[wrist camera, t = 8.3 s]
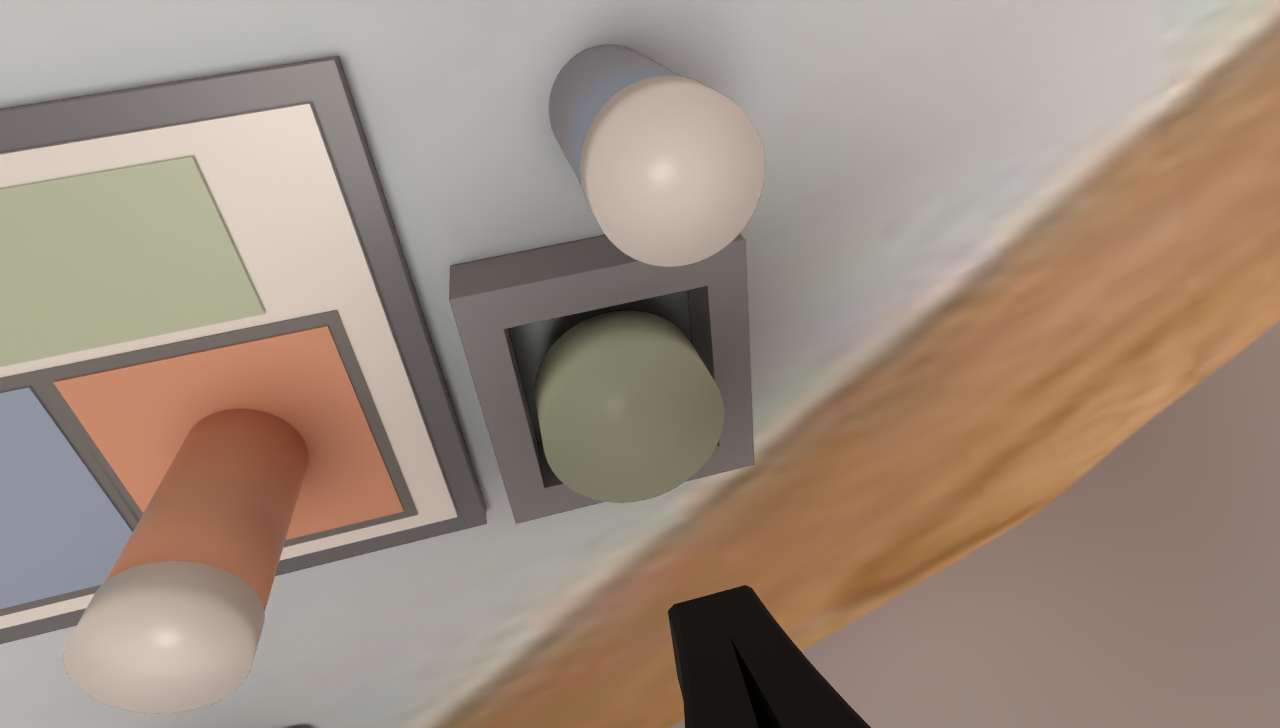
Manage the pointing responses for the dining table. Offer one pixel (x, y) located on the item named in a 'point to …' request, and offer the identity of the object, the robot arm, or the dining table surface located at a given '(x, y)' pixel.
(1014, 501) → the dining table surface
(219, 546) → the terracotta marker
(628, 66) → the slate blue marker
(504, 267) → the button collar
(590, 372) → the button
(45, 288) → the colour zone board
